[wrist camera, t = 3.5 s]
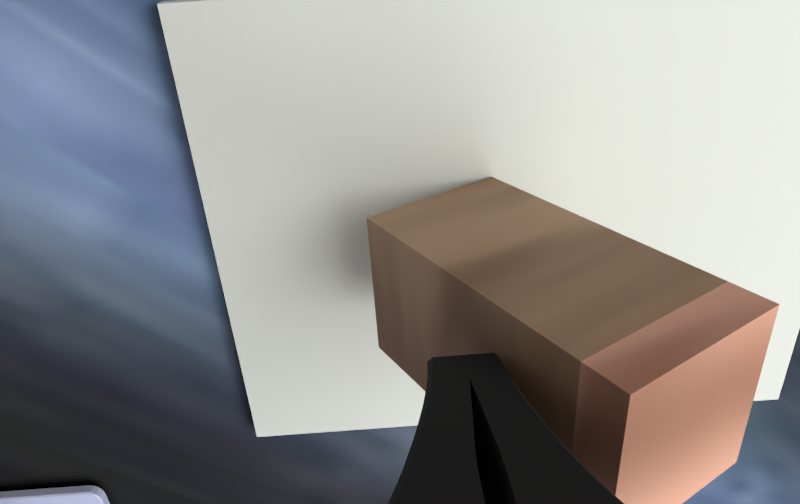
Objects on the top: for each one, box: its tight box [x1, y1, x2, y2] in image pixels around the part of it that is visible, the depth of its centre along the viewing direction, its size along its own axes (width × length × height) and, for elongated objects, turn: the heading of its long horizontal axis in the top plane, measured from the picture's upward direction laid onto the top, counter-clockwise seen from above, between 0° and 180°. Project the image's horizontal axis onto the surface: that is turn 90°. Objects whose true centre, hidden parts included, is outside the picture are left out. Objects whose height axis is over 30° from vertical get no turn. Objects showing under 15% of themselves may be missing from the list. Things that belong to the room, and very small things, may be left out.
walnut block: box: [367, 177, 780, 504], centre depth 15 cm, size 4×4×8 cm
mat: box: [157, 0, 800, 437], centre depth 19 cm, size 14×18×1 cm
